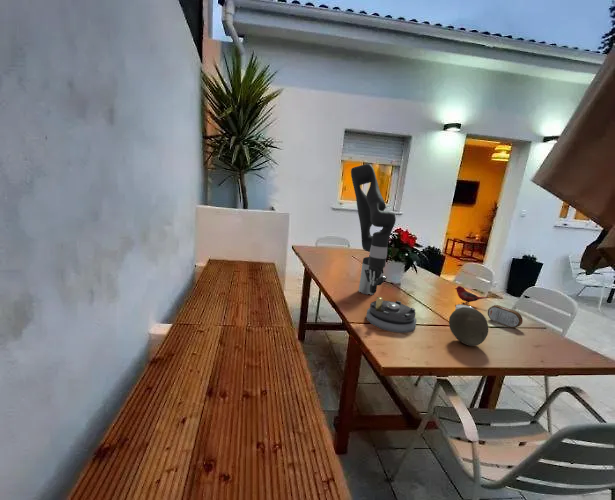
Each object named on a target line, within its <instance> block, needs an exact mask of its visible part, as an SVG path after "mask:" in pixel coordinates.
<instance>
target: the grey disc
mask: <svg viewBox="0 0 615 500" xmlns="http://www.w3.org/2000/svg"><path fill="white" fill-rule="evenodd" d="M369 308H370V311H369V312H370V314H371V315H372V316H374V317H375V318H377V319H379V320H382V321H385V322H389V323H393V324H410V323H412V322H414V319H415V318H416V309H415V308H414V307H410V306H408V305H406V304H402V301H400V300H396V301H390V300H384V297H381V296H378V297H377V296H376V300H375V301H372V302H371V303H370V306H369Z"/></svg>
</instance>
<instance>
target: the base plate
mask: <svg viewBox="0 0 615 500" xmlns="http://www.w3.org/2000/svg"><path fill="white" fill-rule="evenodd" d="M369 311H370V307H369V308H368V309H367V310H366V317H365V318H367V319H366V320H367V322H368V321H369V322H370V324H371V325H372V324H373V326H374V325H375V327H376V326H377V327H376V328H378V327H379V328H378V329H380V330H384V331H388V332H393V333H411V332H413V331H414V330H415V329H416V326H417V318H416V317H415V319H414V322H412V323H410V324H393V323H389V322H385V321H382V320H379V319H377V318H375V317H374V316H372V315H371V314H370V312H369ZM369 322H368V323H369Z"/></svg>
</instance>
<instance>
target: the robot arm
mask: <svg viewBox="0 0 615 500" xmlns="http://www.w3.org/2000/svg"><path fill="white" fill-rule="evenodd" d="M350 176H351V181H352V185H353V190H354V194H355V201H356V207H357V209H356V210H357V214H358V215H357V216H358V218H359V219H358V221H359V224H360V225H359V226H360V234H361V236H360V237H361V238H360V239H361V247H362V249H363V251H366V252H369V256H365V257H363V258H362V263H361V264H362V265H361V271H360V279H359V285H358V292H359V293H360V292H361V293H360V294H363V295H368V294H370V296H371V295H374V294H376V293H377V290H378V289H377V288H378V286H381V285H382V284H383V283H384V282H385V281H386V280H387V276H385V274H384V268H385V267H386V263H387V257H388V247H389V238H390V237H391V233H392V231H393V229H394V228H395V227H394V226H395V224H396V220H397V219H396V218H397V217H396V215H395V213H394V212H393V211H389V210H386V206H387V205H386V202H385V200H384V197H383V196H382V193H381V191H380V187H379V183H378V179H377V175H376V172H375V169H374V167H373V166H372V164H370V163H366V164H362V165H358V166H354V167H352V168H351V169H350ZM369 183H370V185H369V188H368V190H367V193H364V191H363V190H362V188H361V186H362V185H365V184H369ZM372 226H374V227H378V228H382V229H381V230H379V231H376V232H373V234H372V235H371V227H372Z"/></svg>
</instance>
